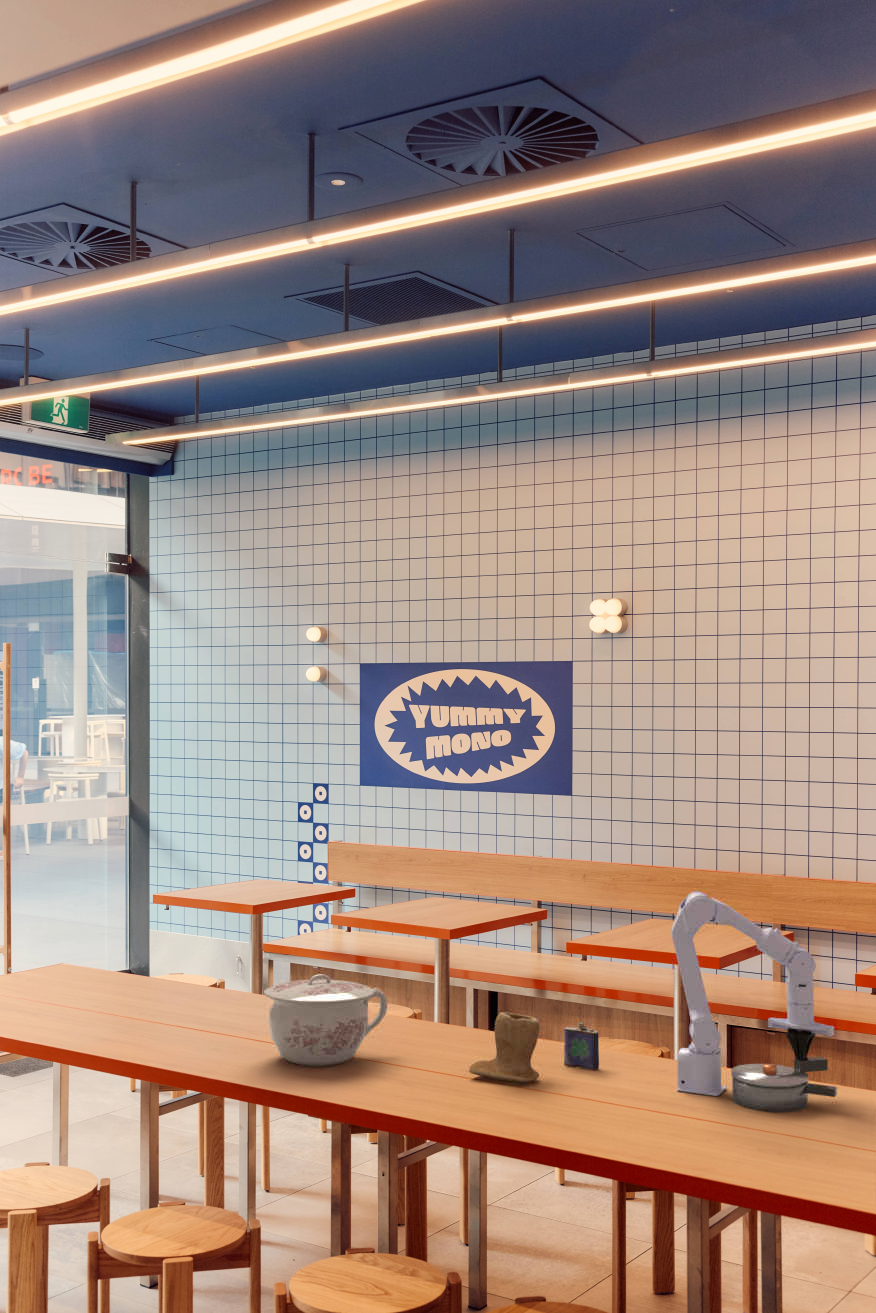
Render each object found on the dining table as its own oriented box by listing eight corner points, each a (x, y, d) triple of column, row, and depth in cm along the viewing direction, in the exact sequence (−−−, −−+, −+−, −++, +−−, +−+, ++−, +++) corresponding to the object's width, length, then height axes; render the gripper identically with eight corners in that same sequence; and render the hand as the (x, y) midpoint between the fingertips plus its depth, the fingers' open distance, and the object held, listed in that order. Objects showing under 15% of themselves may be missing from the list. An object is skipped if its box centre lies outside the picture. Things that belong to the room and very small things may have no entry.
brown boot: (548, 1077, 286) (549, 1012, 287) (525, 1089, 275) (526, 1021, 277) (491, 1068, 293) (492, 1005, 295) (467, 1079, 283) (468, 1013, 285)
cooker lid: (757, 1089, 258) (757, 1073, 258) (717, 1070, 273) (717, 1055, 273) (847, 1083, 264) (846, 1066, 264) (803, 1064, 280) (802, 1049, 280)
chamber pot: (242, 1068, 291) (244, 979, 293) (289, 1043, 317) (291, 962, 319) (352, 1078, 283) (353, 987, 284) (390, 1052, 309) (392, 969, 311)
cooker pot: (724, 1105, 264) (724, 1081, 264) (742, 1088, 278) (742, 1066, 278) (829, 1120, 254) (829, 1095, 254) (842, 1102, 268) (842, 1078, 268)
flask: (562, 1065, 298) (562, 1020, 299) (568, 1063, 300) (568, 1018, 301) (596, 1071, 292) (596, 1025, 293) (601, 1069, 295) (601, 1023, 296)
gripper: (762, 1001, 276) (763, 1062, 275) (825, 1009, 268) (826, 1073, 266) (774, 996, 282) (775, 1056, 281) (836, 1004, 273) (837, 1066, 272)
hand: (801, 1064), depth 274 cm, fingers closed
